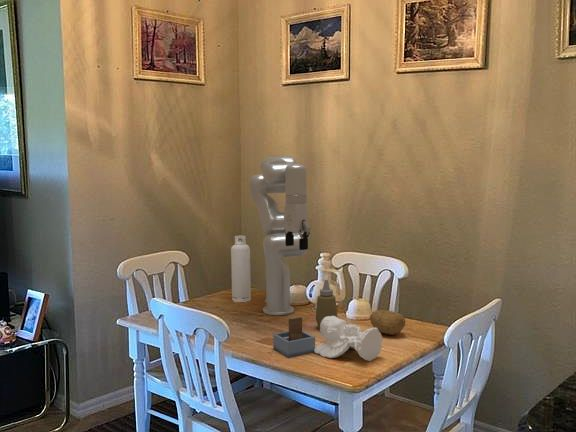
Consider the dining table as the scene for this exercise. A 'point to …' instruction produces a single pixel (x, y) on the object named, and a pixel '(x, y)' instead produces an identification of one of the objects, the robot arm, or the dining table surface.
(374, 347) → the cherub figurine
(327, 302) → the squeeze bottle
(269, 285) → the robot arm
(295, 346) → the grey open storage bin
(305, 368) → the dining table surface
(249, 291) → the bottle
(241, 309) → the dining table surface
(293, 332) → the brown rectangular block
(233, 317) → the dining table surface
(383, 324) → the potato
